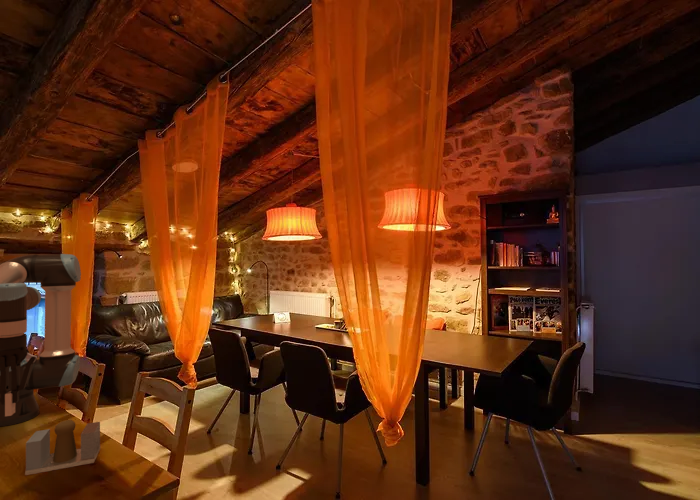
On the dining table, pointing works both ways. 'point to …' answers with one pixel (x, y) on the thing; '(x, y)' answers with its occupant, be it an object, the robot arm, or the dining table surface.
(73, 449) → the wooden pawn
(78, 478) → the dining table surface
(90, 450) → the vise
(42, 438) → the block
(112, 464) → the dining table surface
